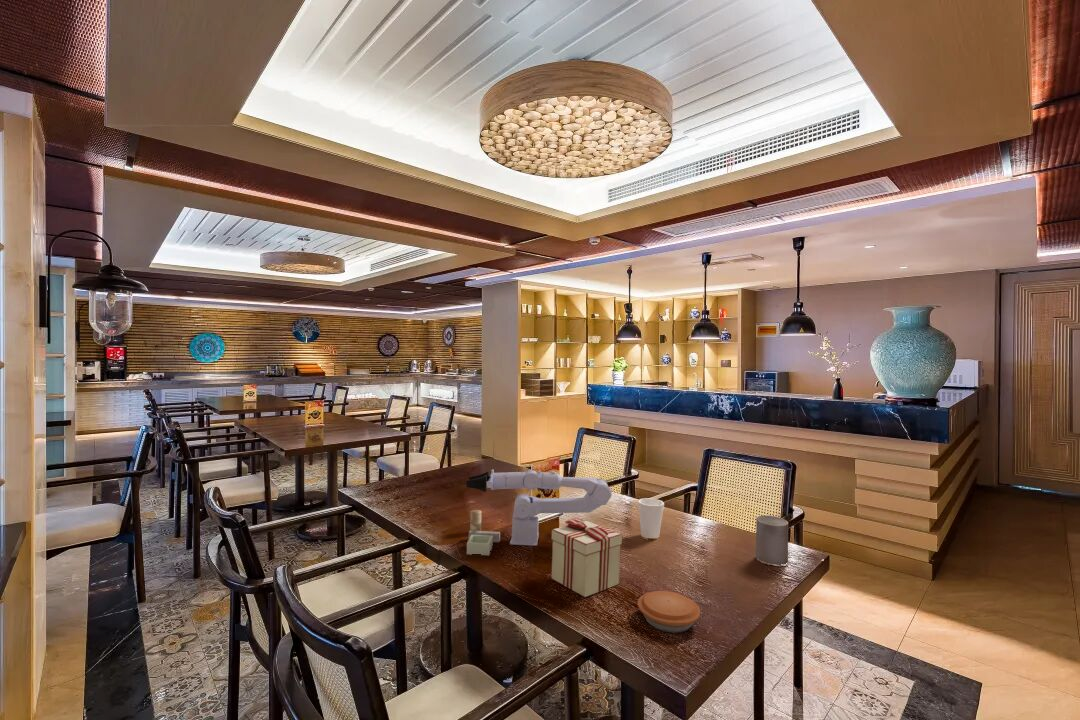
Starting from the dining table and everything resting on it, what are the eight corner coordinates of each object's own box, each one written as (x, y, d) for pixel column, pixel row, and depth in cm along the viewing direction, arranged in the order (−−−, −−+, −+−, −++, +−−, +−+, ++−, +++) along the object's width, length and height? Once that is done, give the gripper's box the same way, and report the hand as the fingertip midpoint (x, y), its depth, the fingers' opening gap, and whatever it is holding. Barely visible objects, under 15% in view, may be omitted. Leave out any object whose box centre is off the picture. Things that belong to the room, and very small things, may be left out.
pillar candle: (770, 553, 166) (771, 510, 166) (794, 564, 157) (795, 519, 157) (748, 557, 162) (749, 513, 162) (772, 569, 153) (773, 522, 153)
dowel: (481, 531, 181) (482, 509, 181) (479, 535, 177) (480, 513, 177) (471, 530, 181) (471, 509, 181) (469, 534, 177) (469, 512, 177)
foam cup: (661, 543, 173) (662, 507, 173) (635, 539, 176) (636, 504, 176) (663, 534, 182) (664, 499, 182) (639, 530, 185) (640, 497, 185)
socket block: (492, 547, 167) (492, 535, 166) (488, 556, 159) (489, 544, 159) (471, 546, 167) (471, 534, 167) (466, 555, 159) (466, 543, 159)
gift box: (628, 580, 144) (629, 522, 144) (588, 601, 131) (590, 538, 131) (584, 561, 156) (586, 508, 156) (544, 579, 143) (546, 521, 143)
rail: (499, 540, 172) (500, 531, 172) (499, 542, 170) (499, 533, 170) (469, 538, 173) (469, 530, 173) (468, 540, 171) (468, 532, 171)
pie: (698, 644, 112) (698, 623, 112) (632, 629, 118) (632, 608, 118) (701, 612, 127) (702, 593, 127) (642, 599, 132) (643, 581, 132)
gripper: (506, 466, 179) (470, 467, 179) (504, 472, 164) (464, 473, 164) (507, 485, 178) (470, 486, 178) (505, 493, 164) (465, 494, 164)
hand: (467, 481), depth 171 cm, fingers open, 7 cm apart
